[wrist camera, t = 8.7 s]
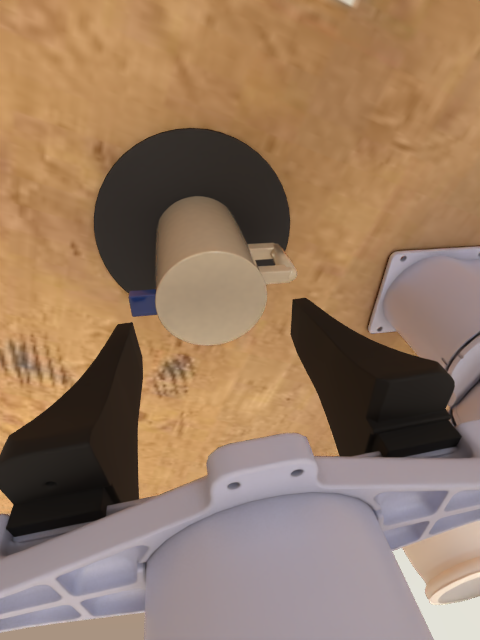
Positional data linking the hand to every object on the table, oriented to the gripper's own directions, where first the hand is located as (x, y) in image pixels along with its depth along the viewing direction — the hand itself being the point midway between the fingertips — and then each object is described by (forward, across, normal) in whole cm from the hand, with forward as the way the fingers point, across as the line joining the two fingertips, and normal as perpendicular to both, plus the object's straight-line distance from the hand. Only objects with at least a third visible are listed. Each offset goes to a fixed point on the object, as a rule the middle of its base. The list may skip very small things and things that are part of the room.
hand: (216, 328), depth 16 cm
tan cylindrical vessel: (+10, -1, 0) cm, 10 cm away
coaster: (+10, 0, 0) cm, 10 cm away
